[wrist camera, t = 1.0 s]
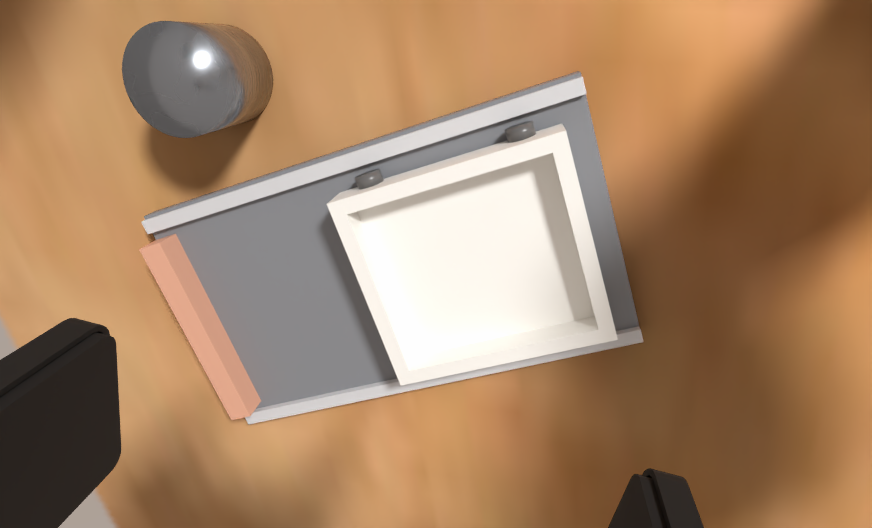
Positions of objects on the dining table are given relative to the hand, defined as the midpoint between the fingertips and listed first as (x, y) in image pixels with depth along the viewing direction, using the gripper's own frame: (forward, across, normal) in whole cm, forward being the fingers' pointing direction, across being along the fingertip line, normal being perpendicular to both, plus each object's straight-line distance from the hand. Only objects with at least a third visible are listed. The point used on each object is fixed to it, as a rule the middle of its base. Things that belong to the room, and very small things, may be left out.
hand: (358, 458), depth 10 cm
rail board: (+22, +3, +7) cm, 23 cm away
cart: (+20, -1, +4) cm, 21 cm away
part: (+22, +14, -2) cm, 26 cm away
